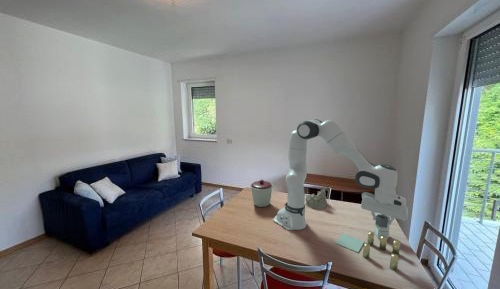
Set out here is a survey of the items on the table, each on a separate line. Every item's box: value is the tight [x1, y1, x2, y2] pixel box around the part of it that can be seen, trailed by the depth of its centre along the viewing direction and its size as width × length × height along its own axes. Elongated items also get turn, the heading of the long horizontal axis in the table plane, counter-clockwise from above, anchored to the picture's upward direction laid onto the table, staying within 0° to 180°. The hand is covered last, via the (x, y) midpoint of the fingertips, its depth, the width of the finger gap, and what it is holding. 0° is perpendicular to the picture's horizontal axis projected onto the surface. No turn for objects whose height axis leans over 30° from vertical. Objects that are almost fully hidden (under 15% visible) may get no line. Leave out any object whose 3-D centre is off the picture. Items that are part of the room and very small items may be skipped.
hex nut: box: [375, 214, 389, 228], centre depth 108 cm, size 6×5×5 cm
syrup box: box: [374, 213, 391, 240], centre depth 125 cm, size 6×6×14 cm
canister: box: [250, 179, 274, 208], centre depth 169 cm, size 18×18×21 cm
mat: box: [335, 233, 365, 254], centre depth 121 cm, size 12×12×1 cm
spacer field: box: [362, 230, 401, 272], centre depth 110 cm, size 16×16×7 cm
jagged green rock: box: [304, 189, 328, 210], centre depth 168 cm, size 16×16×15 cm
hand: (382, 221), depth 108 cm, fingers closed on hex nut, 5 cm apart
